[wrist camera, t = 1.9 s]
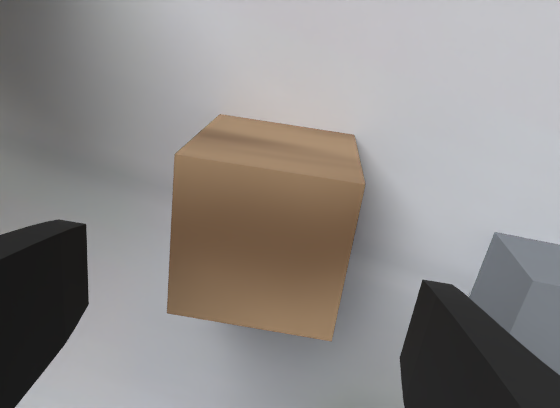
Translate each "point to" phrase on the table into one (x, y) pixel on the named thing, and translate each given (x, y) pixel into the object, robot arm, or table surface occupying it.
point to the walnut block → (263, 225)
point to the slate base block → (523, 293)
